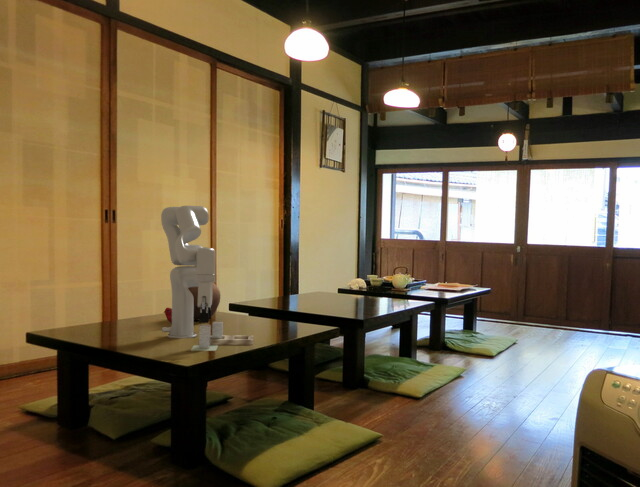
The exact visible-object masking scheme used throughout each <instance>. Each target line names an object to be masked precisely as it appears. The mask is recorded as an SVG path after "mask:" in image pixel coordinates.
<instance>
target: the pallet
mask: <svg viewBox="0 0 640 487" xmlns="http://www.w3.org/2000/svg"><path fill="white" fill-rule="evenodd" d="M253 344H254V335H253V334H252V335H245V334H243V335H241V334H240V335H239V334H238V335H236V334H234V335H228V334H227V335H225V334H223V339H212V335H211V337H210V345H218V346H221V345H222V346H225V345H227V346H230V345H231V346H234V345H237V346H240V345H243V346H245V345H247V346H248V345H250V346H252V345H253Z"/></svg>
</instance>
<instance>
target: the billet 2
mask: <svg viewBox="0 0 640 487" xmlns="http://www.w3.org/2000/svg"><path fill="white" fill-rule="evenodd" d="M211 327H212V328H211V329H212V333H211V334H212V339H223V335H224V321H212V326H211Z"/></svg>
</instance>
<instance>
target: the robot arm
mask: <svg viewBox="0 0 640 487" xmlns="http://www.w3.org/2000/svg"><path fill="white" fill-rule="evenodd" d="M160 217H161V218H160V220H161V226H162V229H163V231H164V233H165V235H166V238H167V242H168V243H167V244H168V249H169V257H170V261H171V263H172V265H175V266H176V267H173V268H172V269H171V271H170V272H169V274H170V275H169V279H170V286H171V309H172V323H171V326H169V327H161V332H162V333H168V334H167V337H168V338H170V339H193V338H197V335H198V334H197V332H194V321H195V320H194V297H193V295H192V293H191V292H190V291H189V289H188V288H189V287H198V307H200V306H201V310H200V320H199V323H200V324H208V323H209V320H211V319H212V316H211V305H212V282H213V283H216V250H215V249H214V248H213V247H203V246H202V245H200V244H189V243H191V242H193V241H195V240H196V239H198V238H199V237H200V236H201V234H202V228H201V226H205V225H207V224H208V223H209V220H210V212H209V211H208V209H207V208H206V206H201V205H181V206H168V207H165V208H163V210H162V211H161V214H160Z"/></svg>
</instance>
